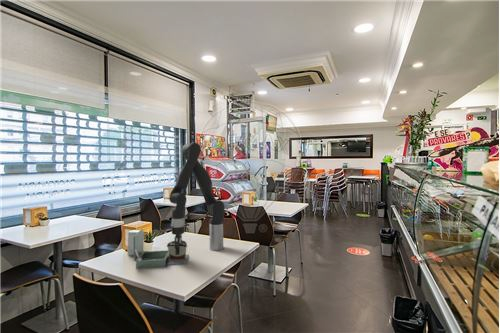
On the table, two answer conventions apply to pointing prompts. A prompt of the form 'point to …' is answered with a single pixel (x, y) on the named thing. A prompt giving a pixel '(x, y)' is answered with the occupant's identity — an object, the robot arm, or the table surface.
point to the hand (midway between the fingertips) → (178, 252)
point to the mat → (178, 261)
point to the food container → (181, 251)
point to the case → (148, 254)
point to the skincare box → (132, 241)
